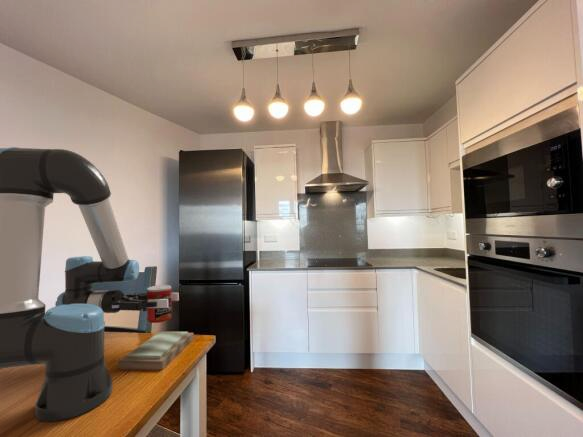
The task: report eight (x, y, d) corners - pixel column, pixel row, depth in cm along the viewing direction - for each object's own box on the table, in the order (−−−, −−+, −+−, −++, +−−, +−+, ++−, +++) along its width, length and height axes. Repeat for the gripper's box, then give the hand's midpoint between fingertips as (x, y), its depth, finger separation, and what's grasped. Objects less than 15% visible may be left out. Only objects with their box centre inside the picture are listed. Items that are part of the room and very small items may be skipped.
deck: (162, 369, 83) (162, 358, 83) (118, 369, 84) (118, 357, 84) (193, 339, 105) (193, 330, 105) (158, 339, 106) (158, 330, 106)
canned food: (156, 324, 89) (156, 290, 90) (142, 321, 93) (141, 288, 93) (176, 317, 96) (176, 286, 96) (162, 314, 100) (161, 284, 100)
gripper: (125, 304, 105) (184, 302, 105) (84, 323, 84) (159, 321, 84) (125, 284, 105) (184, 282, 105) (84, 298, 84) (158, 296, 85)
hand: (173, 299), depth 95 cm, fingers closed on canned food, 8 cm apart
